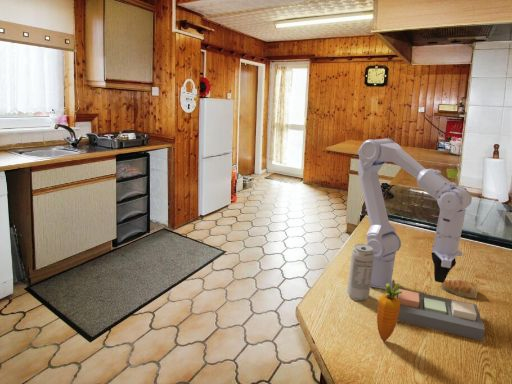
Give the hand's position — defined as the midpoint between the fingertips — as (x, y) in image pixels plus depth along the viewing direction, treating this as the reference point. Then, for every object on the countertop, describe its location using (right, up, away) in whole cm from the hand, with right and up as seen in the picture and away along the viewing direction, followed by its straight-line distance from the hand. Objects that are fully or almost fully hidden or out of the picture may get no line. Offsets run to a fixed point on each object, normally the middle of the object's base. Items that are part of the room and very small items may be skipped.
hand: (438, 281), depth 98 cm
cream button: (+4, -8, -4) cm, 10 cm away
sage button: (-2, -8, -2) cm, 9 cm away
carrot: (-19, -11, -12) cm, 25 cm away
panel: (-3, -9, -2) cm, 9 cm away
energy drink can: (-20, -6, +7) cm, 22 cm away
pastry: (+12, -6, +12) cm, 18 cm away
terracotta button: (-8, -7, 0) cm, 11 cm away
